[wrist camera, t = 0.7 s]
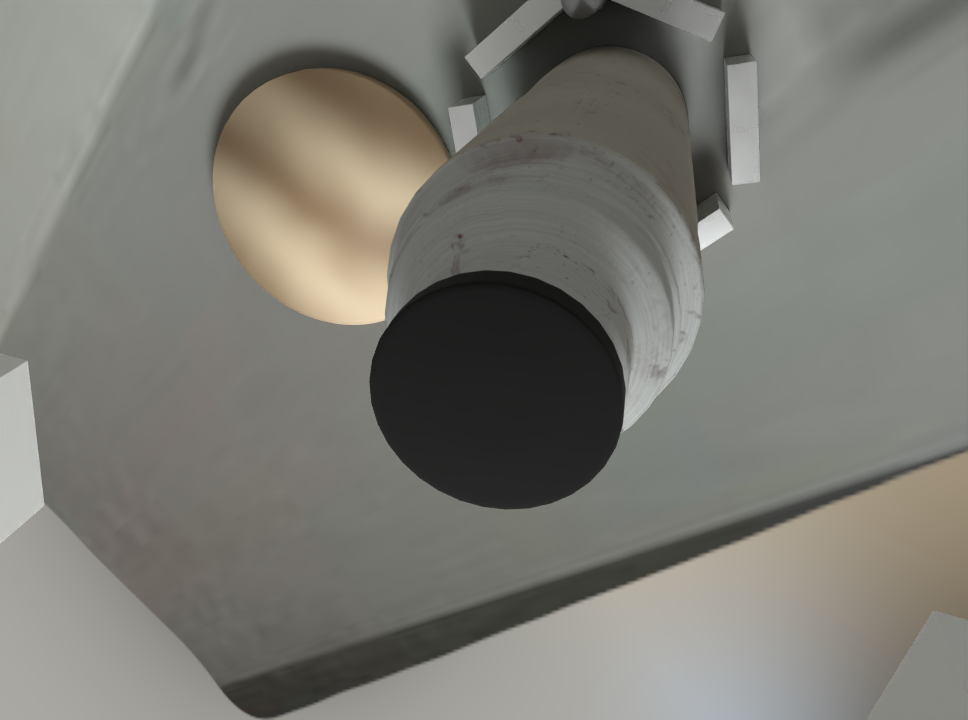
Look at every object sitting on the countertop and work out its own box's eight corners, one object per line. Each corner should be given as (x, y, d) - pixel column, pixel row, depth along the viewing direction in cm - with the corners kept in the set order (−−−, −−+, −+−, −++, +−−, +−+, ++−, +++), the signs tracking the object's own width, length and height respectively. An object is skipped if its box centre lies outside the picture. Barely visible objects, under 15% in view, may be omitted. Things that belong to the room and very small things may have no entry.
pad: (247, 24, 41) (238, 25, 40) (498, 130, 40) (494, 134, 39) (202, 261, 47) (194, 267, 46) (417, 354, 47) (412, 361, 46)
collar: (520, -75, 36) (499, -80, 32) (817, 49, 36) (837, 62, 31) (428, 200, 43) (400, 227, 38) (677, 307, 42) (678, 346, 38)
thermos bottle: (703, 188, 39) (753, 559, 15) (550, 227, 42) (377, 597, 17) (669, 22, 36) (661, 144, 12) (506, 74, 39) (224, 262, 14)
